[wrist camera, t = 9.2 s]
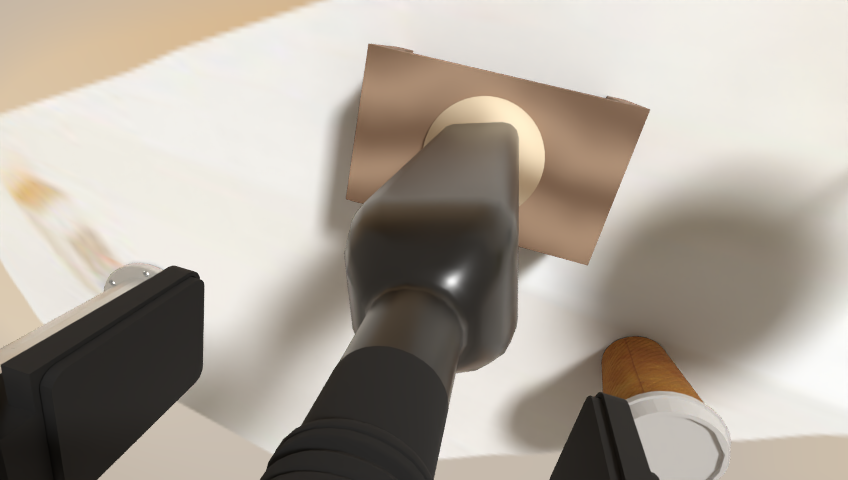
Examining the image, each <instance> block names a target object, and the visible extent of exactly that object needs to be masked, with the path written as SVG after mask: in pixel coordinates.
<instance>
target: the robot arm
mask: <svg viewBox="0 0 848 480" xmlns="http://www.w3.org/2000/svg"><path fill="white" fill-rule="evenodd" d="M203 329H204V282H203V281H202V280H200V277H199V275H198V273H196V272H194V271H191V270H188V269H184V268H181V267H177V266H170V267H168V268H166V269H165V270H162V269H160V268H158V267H155V266H152V265H149V264H143V263H132V264H128V265H125V266H123V267H121V268H119V269H117V270H116V271H114V272H113V273H112V274H111V275H110V276H109V277H108V279H107V281H106V284H105V286H104V292H103V293H101V294H99V295H97V296H96V297H94V298H92V299H90V300H88V301H86V302H85V303H83V304H81V305H79V306H77V307H75V308H74V309H72V310H70V311H68V312H66V313H65V314H63V315H61V316H59V317H57V318H55V319H54V320H52V321H50V322H48V323H46V324H45V325H43V326H41V327H39V328H37V329H35V330H34V331H32V332H30V333H28V334H26V335H25V336H23V337H21V338H19V339H17V340H16V341H14V342H12V343H10V344H8V345H6V346H4V347H3V348H1V349H0V480H97V479H98V478H99V477H100V476H101V475H102V474H103V473H104V472H105V471H106V470H107V469H108V468H109V467H110V466H111V465H112V464H113V463H114V462H115V461H116V460H117V459H119V458H120V457H121V456H122V455H123V454H124V452H126V451H127V450H128V449H129V448H130V446H132V444H134V443H135V442H136V441H137V440H138V439H139V438H140V437H141V436H142V435H143V434H144V433H145V432H146V431H147V430H148V429H149V428H150V427H151V426H152V425H153V424H154V423H155V422H156V421H157V420H158V419H159V418H160V417H161V416H162V415H163V414H164V413H165V412H166V411H167V410H168V409H169V408H170V407H171V406H172V405H173V404H174V403H175V402H176V401H177V400H178V399H179V398H180V397H181V396H182V395H183V394H184V393H185V392H186V391H187V390H188V389H189V388H190V387H191V386H192V385H194V384H195V382H196V381H197V380H198V378H199V377H200V375H201V372H202V368H203ZM550 480H660V479H659V477H658V476H657V475H656V474H655V473H653V472H651V471H650V468H649V464H648V461H647V458H646V455H645V452H644V449H643V446H642V443H641V440H640V437H639V434H638V431H637V428H636V425H635V422H634V419H633V415H632V412H631V409H630V406H629V404H628V402H627V400H625V399H622V398H619V397H616V396H612V395H609V394H606V393H602V392H599V393H598V394H597V395H596V396H595V397H592V396H588V397H587V399H586V400H585V402H584V405H583V407H582V409H581V411H580V413H579V416H578V418H577V420H576V422H575V424H574V426H573V429H572V431H571V433H570V435H569V437H568V440H567V442H566V444H565V446H564V448H563V451H562V453H561V455H560V457H559V459H558V462H557V464H556V466H555V468H554V470H553V472H552V475H551V477H550Z"/></svg>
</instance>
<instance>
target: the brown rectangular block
mask: <svg viewBox="0 0 848 480" xmlns="http://www.w3.org/2000/svg"><path fill="white" fill-rule="evenodd" d="M649 111H650V109H647V108H645V107H642V106H640V105H637V104H634V103H632V102H629V101H627V100H623V99H618V98H614V97H610V96H607V99H606V98H602V97H598V96H593V95H589V94H585V93H581V92H576V91H572V90H568V89H564V88H559V87H555V86H551V85H546V84H542V83H538V82H534V81H529V80H525V79H521V78H516V77H512V76H508V75H504V74H499V73H495V72H491V71H487V70H482V69H478V68H474V67H469V66H465V65H461V64H457V63H452V62H448V61H444V60H439V59H435V58H431V57H427V56H422V55H418V54H414V53H413V50H408V49H404V48H400V47H394V46H385V45H376V44H368V51H367V58H366V64H365V71H364V78H363V85H362V92H361V99H360V105H359V112H358V119H357V126H356V133H355V140H354V146H353V153H352V160H351V167H350V174H349V181H348V187H347V194H346V199H347V200H351V201H355V202H358V203H362V204H364V203H365V202H366V201H367V200H368V199H369V198H370V197H371V196H372V195H373V194H374V193H375V192H376V191H377V190H378V189H379V188H381V187H382V186H383V185H384V184H385V183H386V182H387V181H388V180H389V179H390V178H391V177H392V176H393V175H395V174H396V173H397V172H398V171H399V170H400V169H401V168H402V167H403V166H404V165H405V164H406V163H407V162H409V161H410V160H411V159H412V158H413V157H414V156H415V155H416V154H417V153H418V152H419V151H420V150H421V149H423V148H424V147H425V146H426V145H427V144H428V143H429V142H430V141H431V140H432V139H433V138H434V137H435V136H437V135H438V134H439V133H440V132H441V131H442V130H443V129H444V128H445V127H446V126H449V125H452V124H466V123H491V122H505V123H509V124H511V125H512V126H513V127H514V128H515V129H516V130H517V133H518V136H519V247H522V248H526V249H530V250H533V251H537V252H541V253H544V254H548V255H552V256H555V257H559V258H563V259H566V260H570V261H573V262H577V263H581V264H584V265H588V263H589V261H590V258H591V256H592V253H593V251H594V248H595V246H596V243H597V241H598V238H599V236H600V233H601V231H602V228H603V226H604V223H605V221H606V218H607V216H608V213H609V211H610V208H611V206H612V203H613V201H614V198H615V196H616V193H617V191H618V188H619V186H620V183H621V181H622V178H623V176H624V174H625V171H626V169H627V166H628V164H629V161H630V159H631V156H632V154H633V151H634V149H635V146H636V144H637V141H638V139H639V136H640V134H641V131H642V129H643V126H644V124H645V121H646V119H647V116H648V114H649Z"/></svg>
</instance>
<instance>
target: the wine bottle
mask: <svg viewBox="0 0 848 480" xmlns="http://www.w3.org/2000/svg"><path fill="white" fill-rule="evenodd" d="M344 255H345V264H346V274H347V283H348V291H349V300H350V309H351V318H352V327H353V330H354V333H355V336H354V337H353V339H352V341H351V342H350V344H349V346H348V348H347V349H346V351H345V353H344V354H343V356H342V358H341V360H340V361H339V363H338V364H337V366H336V367H335V369H334V370H333V372H332V374H331V375H330V377H329V379H328V380H327V382H326V384H325V386H324V387H323V389H322V391H321V392H320V394H319V396H318V398H317V399H316V401H315V403H314V404H313V406H312V408H311V409H310V411H309V413H308V415H307V416H306V418H305V420H304V421H303V423H302V425H301V426H300V427H298V428H296V429H295V430H293V431H292V432H291V433H290V434H289V435H288V436H287V437H285V438H284V439H283V441H282V442H281V443H280V445H279V446H278V448H277V449H276V451H275V453H274V454H273V456H272V457H271V459H270V461H269V462H268V466H267V469H266V472H265V473H264V475H263V476H262V477H261V479H260V480H434V475H435V470H436V465H437V461H438V456H439V451H440V446H441V442H442V437H443V432H444V427H445V423H446V418H447V413H448V407H449V402H450V398H451V393H452V388H453V383H454V379H455V374H456V373H462V372H469V371H475V370H478V369H480V368H482V367H483V366H485V365H487V364H489V363H491V362H492V361H494V360H495V359H496V358H498V357H499V356H501V355H502V354H504V353H505V351H506V349H507V347H508V346H509V344H510V342H511V340H512V337H513V335H514V332H515V329H516V327H517V320H518V255H519V136H518V133H517V130H516V129H515V128H514V127H513V126H512V125H511V124H509V123H505V122H491V123H466V124H452V125H449V126H446V127H445V128H444V129H443V130H442V131H441V132H440V133H439V134H438V135H437V136H435V137H434V138H433V139H432V140H431V141H430V142H429V143H428V144H427V145H426V146H425V147H424V148H423V149H421V150H420V151H419V152H418V153H417V154H416V155H415V156H414V157H413V158H412V159H411V160H410V161H409V162H407V163H406V164H405V165H404V166H403V167H402V168H401V169H400V170H399V171H398V172H397V173H396V174H395V175H393V176H392V177H391V178H390V179H389V180H388V181H387V182H386V183H385V184H384V185H383V186H382V187H381V188H379V189H378V190H377V191H376V192H375V193H374V194H373V195H372V196H371V197H370V198H369V199H368V200H367V201H366V202H365V203H364V204H363V205H362V206H361V207H360V209H359V210H358V211H357V212H356V214H355V216H354V218H353V219H352V222H351V227H350V231H349V235H348V240H347V244H346V248H345V252H344Z"/></svg>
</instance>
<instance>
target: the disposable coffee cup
mask: <svg viewBox="0 0 848 480" xmlns="http://www.w3.org/2000/svg"><path fill="white" fill-rule="evenodd" d="M601 364H602V381H603V393H606V394H609V395H612V396H616V397H619V398H622V399H625V400H627V402H628V404H629V406H630V409H631V412H632V415H633V419H634V422H635V425H636V428H637V431H638V434H639V437H640V440H641V443H642V446H643V449H644V452H645V455H646V458H647V461H648V464H649V468H650V471H651V472H653V473H655V474H656V475H657V476H658V477H659V479H660V480H719V479H720V478H721V477H722V476H723V475H724V474H725V472H726V470H727V468H728V466H729V461H730V446H731V439H730V433H729V431H728V428H727V426H726V424H725V423H724V421H723V420H722V418H721V417H720V416H719V415H718V414H717V413H716V412H715V411H714V410H713V409H712V408H710V407H708V406H707V405H705V404H704V402H703V401H702V400H701V398H700V397H699V396H698V394H697V393H696V392H695V390H694V389H693V388H692V386H691V385H690V384H689V383H688V381H687V380H686V379H685V377H684V376H683V374H682V373H681V372H680V371H679V369H678V368H677V367H676V365H675V364H674V363H673V361H672V360H671V358H670V357H669V356H668V354H667V353H666V352H665V350H664V349H663V348H662V347H661V346H660V345H659V344H658V343H656V342H655V341H653V340H651V339H648V338H644V337H637V336H633V337H626V338H623V339H619V340H617V341H615V342H614V343H612V344H611V345H610V346H609V347H608V348H607V349H606V350H605V352H604V354H603V357H602V363H601Z"/></svg>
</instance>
